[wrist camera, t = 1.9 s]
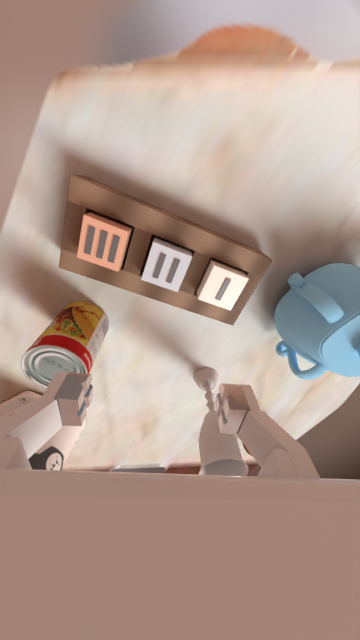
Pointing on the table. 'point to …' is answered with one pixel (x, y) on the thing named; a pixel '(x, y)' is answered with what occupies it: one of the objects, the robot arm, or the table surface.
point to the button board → (144, 229)
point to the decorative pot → (322, 321)
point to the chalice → (216, 436)
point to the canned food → (66, 343)
